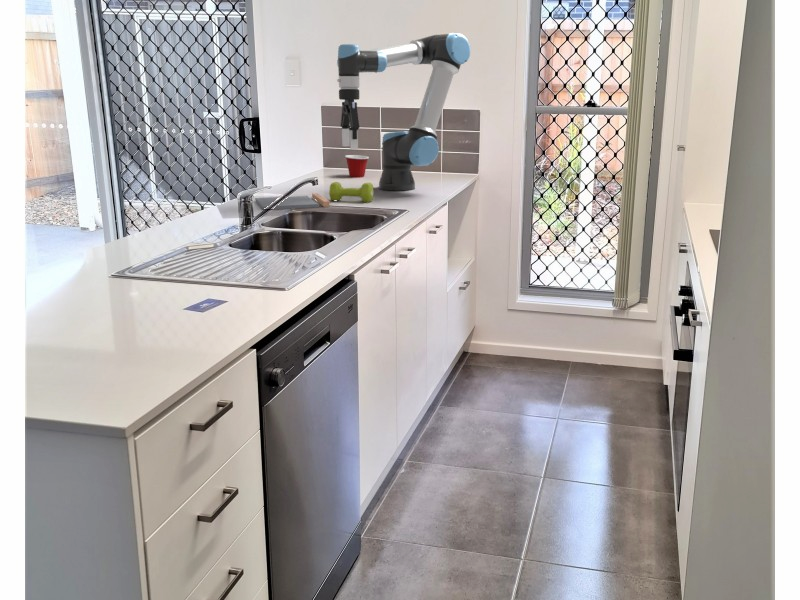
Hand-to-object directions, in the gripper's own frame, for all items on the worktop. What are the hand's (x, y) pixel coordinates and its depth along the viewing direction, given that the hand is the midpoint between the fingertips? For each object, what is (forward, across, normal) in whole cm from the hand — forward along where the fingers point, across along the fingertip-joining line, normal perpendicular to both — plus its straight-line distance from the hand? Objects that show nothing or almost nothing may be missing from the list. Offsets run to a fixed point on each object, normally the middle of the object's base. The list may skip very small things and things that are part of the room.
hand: (350, 147), depth 293 cm
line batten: (+20, 0, -12) cm, 23 cm away
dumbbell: (+20, 0, 0) cm, 21 cm away
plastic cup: (+20, -61, +17) cm, 67 cm away
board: (+20, 0, -25) cm, 32 cm away
